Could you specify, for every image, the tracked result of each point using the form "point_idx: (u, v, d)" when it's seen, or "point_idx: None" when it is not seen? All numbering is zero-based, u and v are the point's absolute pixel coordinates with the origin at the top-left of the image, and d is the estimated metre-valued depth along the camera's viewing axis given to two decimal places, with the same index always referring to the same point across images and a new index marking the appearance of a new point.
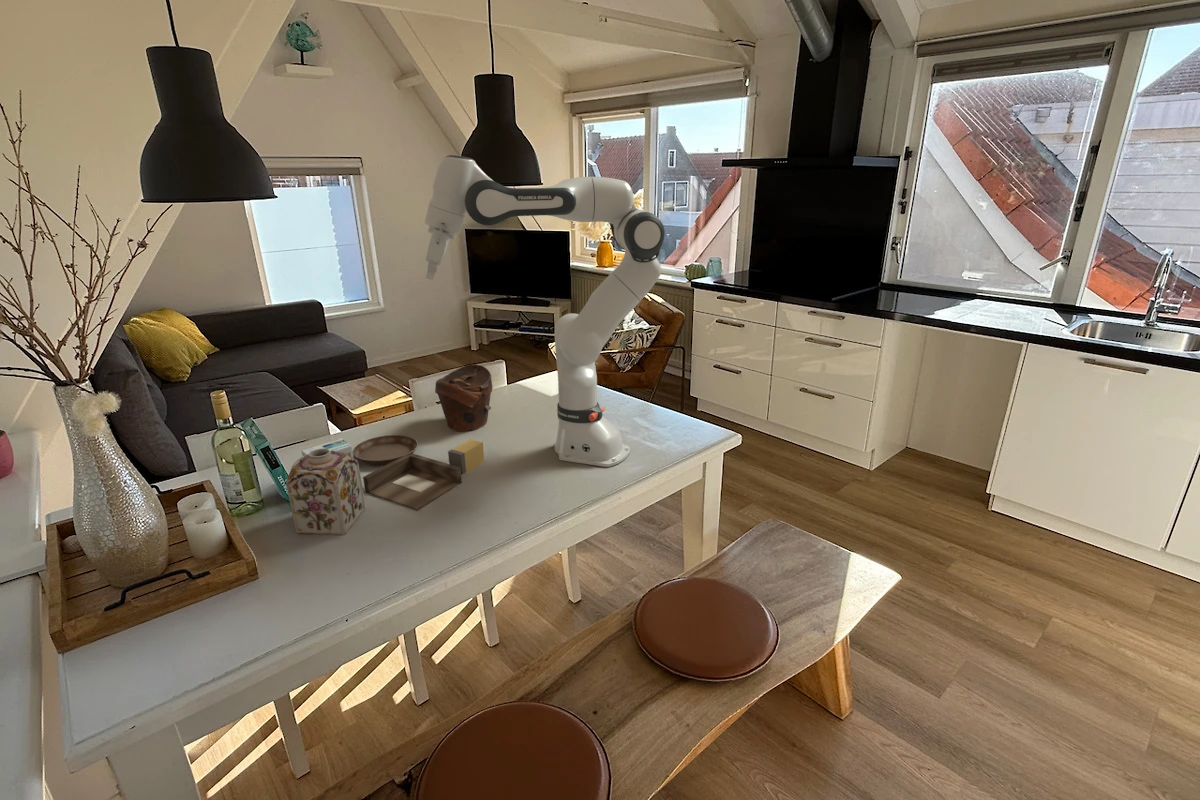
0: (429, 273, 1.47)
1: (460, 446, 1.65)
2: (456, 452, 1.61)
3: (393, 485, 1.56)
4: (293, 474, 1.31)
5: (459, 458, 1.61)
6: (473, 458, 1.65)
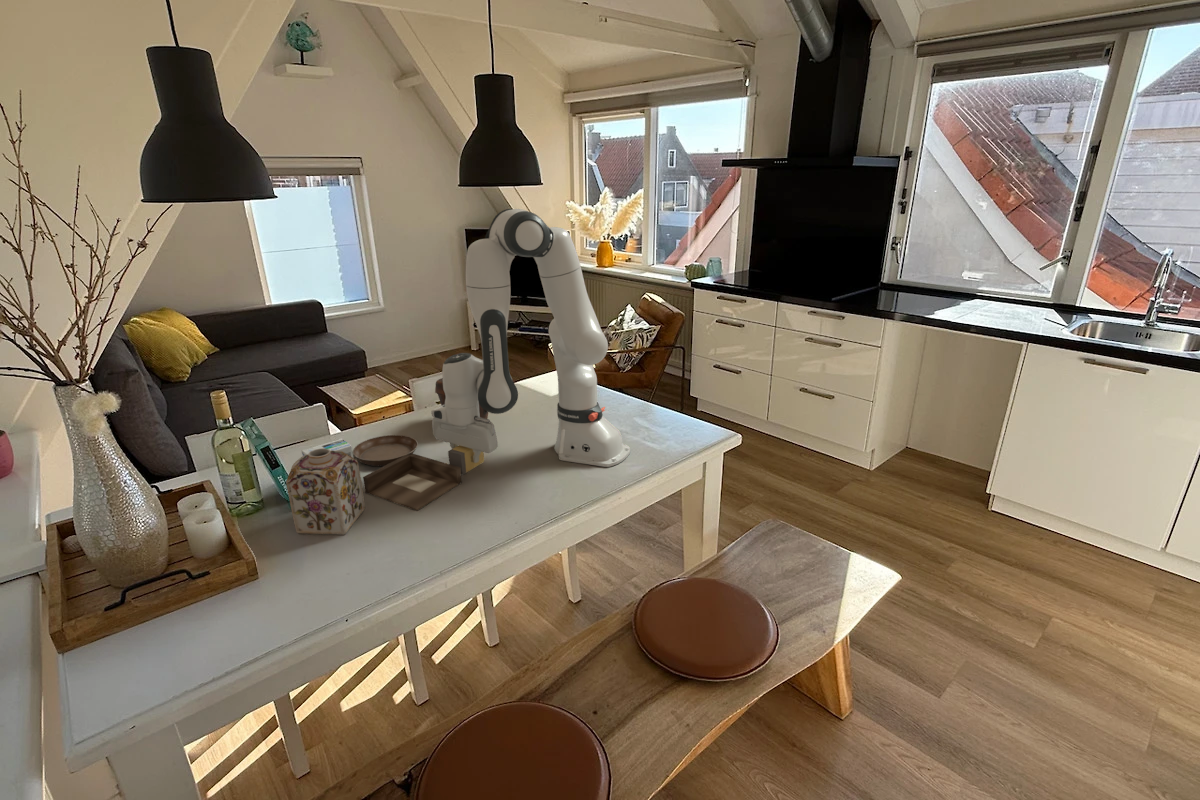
0: (476, 458, 1.64)
1: (460, 446, 1.65)
2: (456, 452, 1.61)
3: (393, 485, 1.56)
4: (293, 474, 1.31)
5: (459, 458, 1.61)
6: None
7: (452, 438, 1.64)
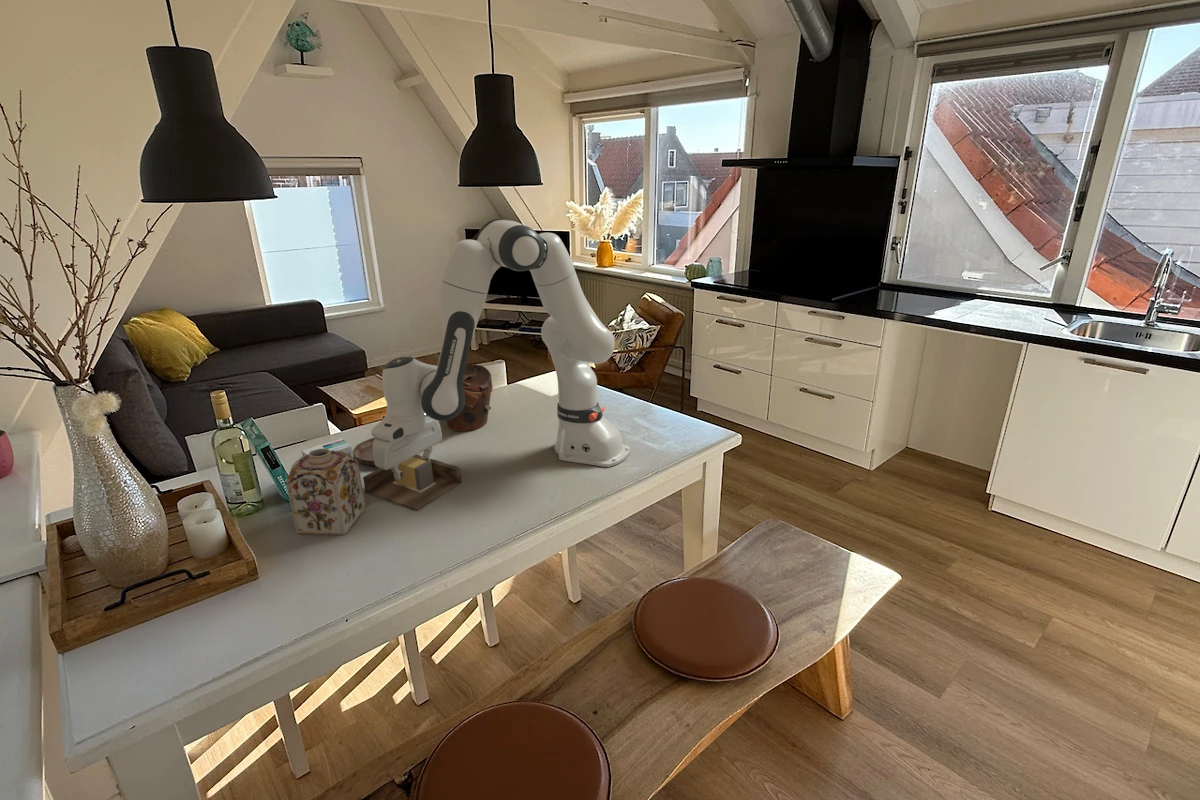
0: None
1: (409, 464, 1.53)
2: (423, 465, 1.53)
3: (393, 485, 1.56)
4: (293, 474, 1.31)
5: (429, 467, 1.54)
6: None
7: (406, 453, 1.50)
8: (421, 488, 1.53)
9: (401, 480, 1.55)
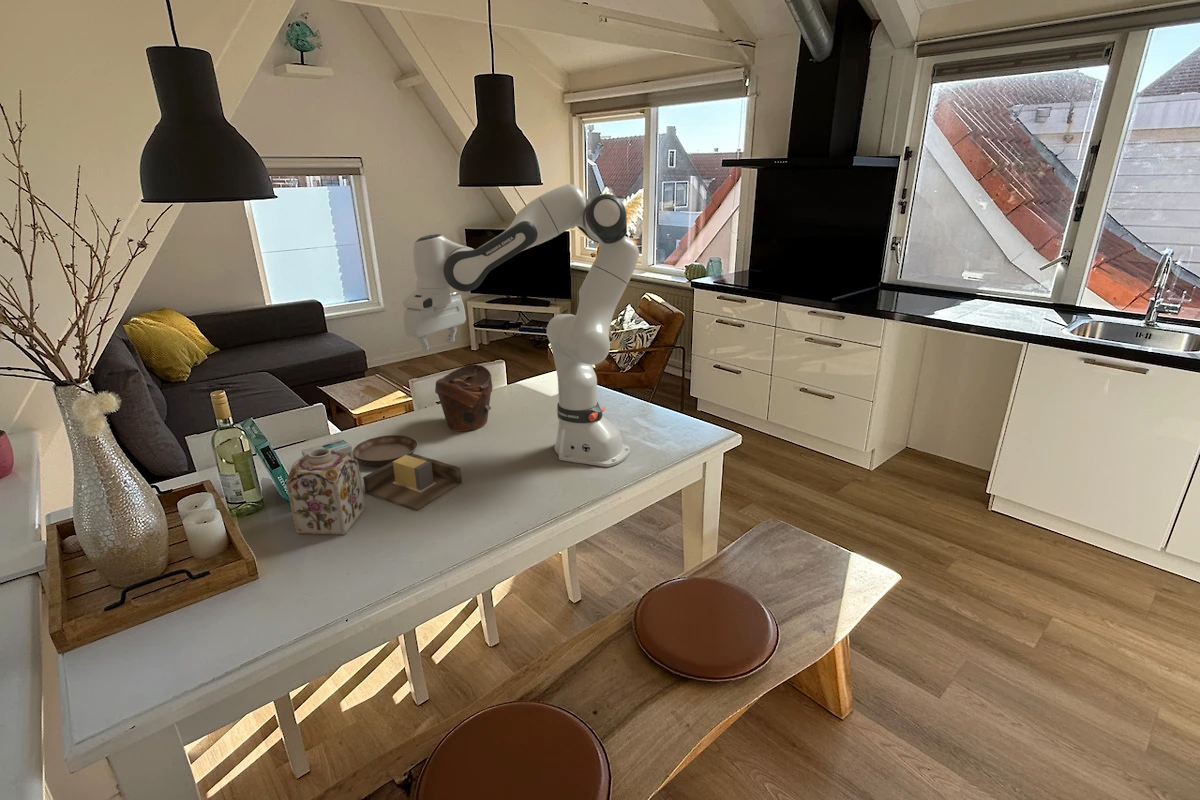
0: None
1: (409, 464, 1.53)
2: (423, 465, 1.53)
3: (393, 485, 1.56)
4: (293, 474, 1.31)
5: (429, 467, 1.54)
6: None
7: (434, 326, 1.62)
8: (421, 488, 1.53)
9: (401, 480, 1.55)
